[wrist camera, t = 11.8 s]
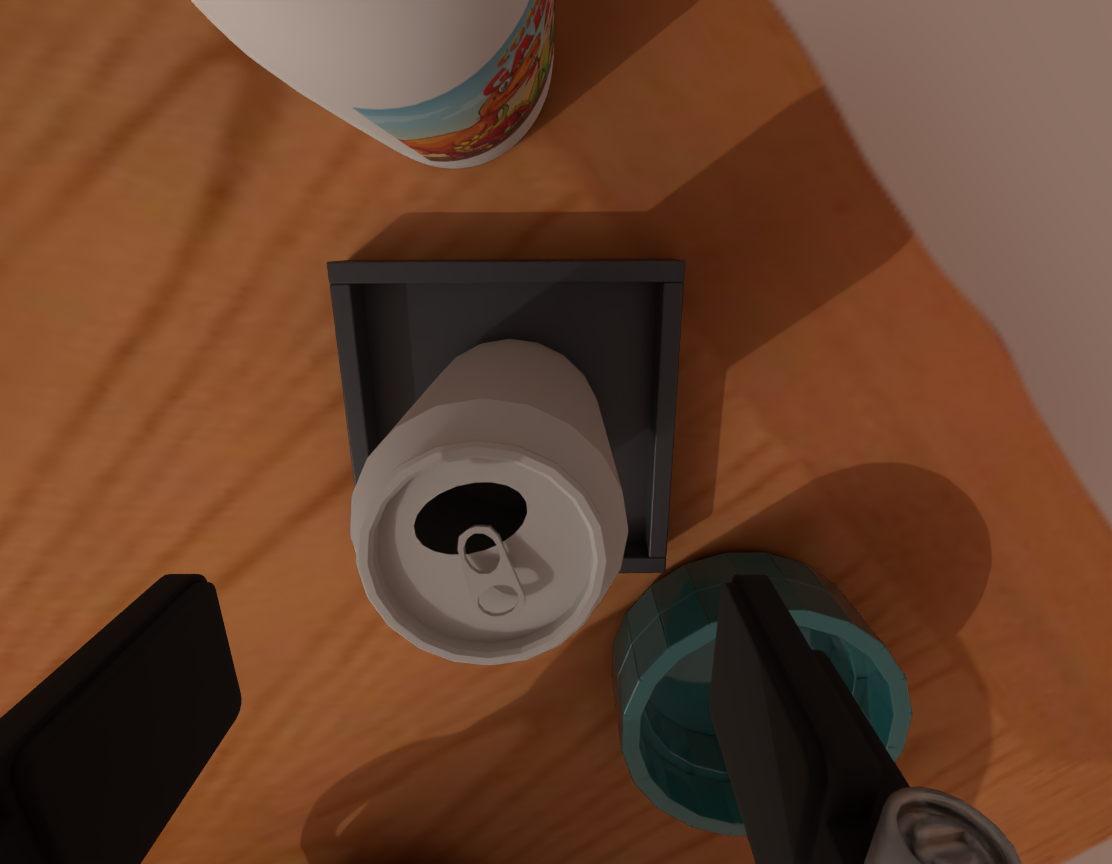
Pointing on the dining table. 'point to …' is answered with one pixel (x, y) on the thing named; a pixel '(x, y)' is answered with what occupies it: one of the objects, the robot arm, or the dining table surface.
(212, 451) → the dining table surface
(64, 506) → the dining table surface
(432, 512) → the can
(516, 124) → the milk bottle
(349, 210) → the dining table surface
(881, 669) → the bowl
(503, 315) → the tray
